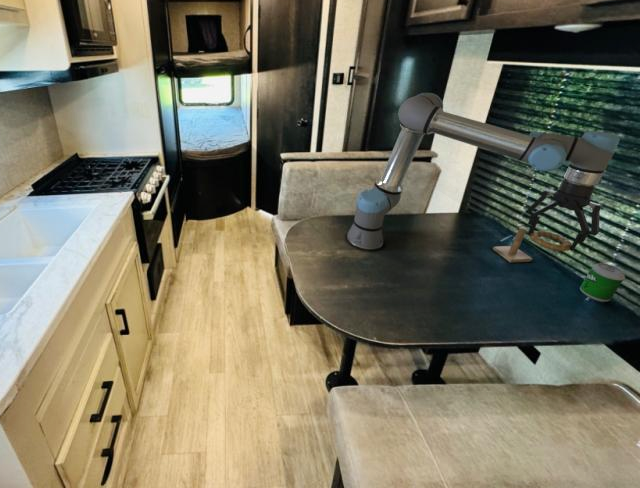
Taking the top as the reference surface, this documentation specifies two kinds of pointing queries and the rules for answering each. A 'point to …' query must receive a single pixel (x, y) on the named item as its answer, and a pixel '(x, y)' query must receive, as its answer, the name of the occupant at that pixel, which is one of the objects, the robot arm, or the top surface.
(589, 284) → the soda can
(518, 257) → the rack
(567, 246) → the ring
